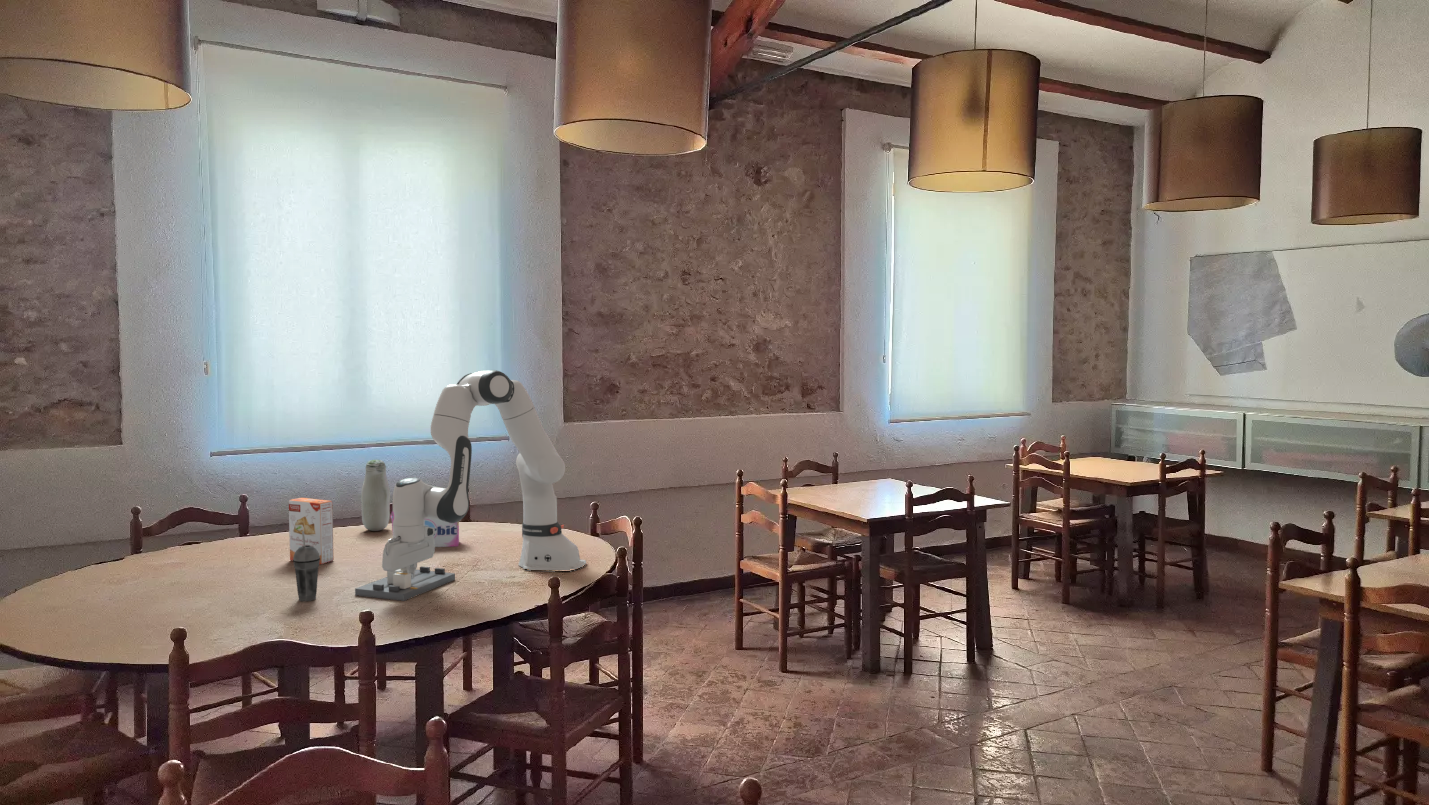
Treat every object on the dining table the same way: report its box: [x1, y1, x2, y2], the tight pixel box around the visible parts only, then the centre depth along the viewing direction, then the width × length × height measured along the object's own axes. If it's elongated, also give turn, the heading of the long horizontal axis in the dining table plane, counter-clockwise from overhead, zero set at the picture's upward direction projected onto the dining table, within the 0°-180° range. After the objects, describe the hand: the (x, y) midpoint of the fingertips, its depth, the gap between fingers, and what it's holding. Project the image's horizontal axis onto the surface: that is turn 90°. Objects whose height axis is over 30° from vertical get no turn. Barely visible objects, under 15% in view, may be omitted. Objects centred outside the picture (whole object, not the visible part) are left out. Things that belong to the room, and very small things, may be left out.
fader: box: [393, 572, 411, 589], centre depth 266 cm, size 4×3×4 cm
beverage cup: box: [292, 531, 320, 602], centre depth 260 cm, size 7×7×20 cm
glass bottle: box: [360, 459, 391, 532], centre depth 356 cm, size 10×10×28 cm
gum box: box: [390, 510, 460, 548], centre depth 331 cm, size 24×8×14 cm, turn 102°
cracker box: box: [288, 497, 335, 565], centre depth 306 cm, size 14×6×21 cm, turn 68°
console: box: [354, 566, 456, 602], centre depth 275 cm, size 17×25×6 cm
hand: (409, 579), depth 270 cm, fingers closed
